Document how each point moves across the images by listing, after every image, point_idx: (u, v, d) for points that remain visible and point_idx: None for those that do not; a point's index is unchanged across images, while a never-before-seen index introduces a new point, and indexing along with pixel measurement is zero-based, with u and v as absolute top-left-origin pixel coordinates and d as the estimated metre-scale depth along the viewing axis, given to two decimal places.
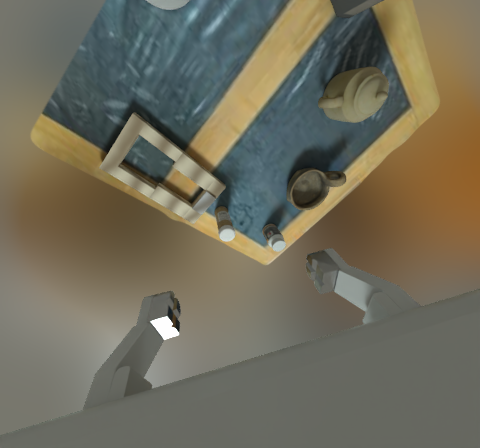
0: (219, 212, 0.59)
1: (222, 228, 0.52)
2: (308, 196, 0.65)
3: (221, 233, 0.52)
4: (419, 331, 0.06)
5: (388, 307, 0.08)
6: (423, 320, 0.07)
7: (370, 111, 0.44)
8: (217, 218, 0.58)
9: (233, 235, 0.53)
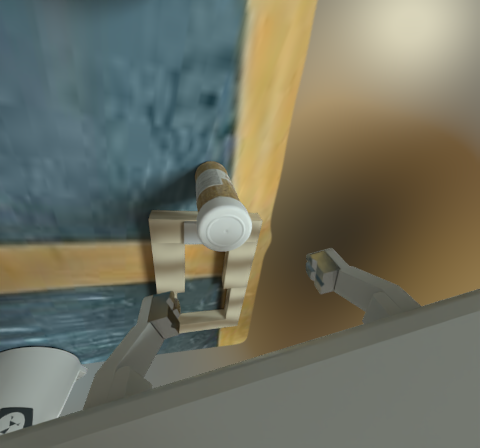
0: None
1: None
2: None
3: (229, 248, 0.16)
4: (419, 331, 0.06)
5: (388, 307, 0.08)
6: (423, 320, 0.07)
7: None
8: None
9: (215, 216, 0.14)
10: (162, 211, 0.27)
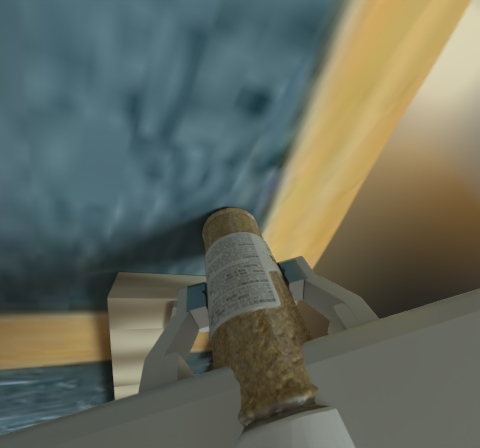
0: None
1: None
2: None
3: None
4: (419, 331, 0.06)
5: (346, 320, 0.08)
6: (423, 320, 0.07)
7: None
8: None
9: None
10: (138, 274, 0.16)
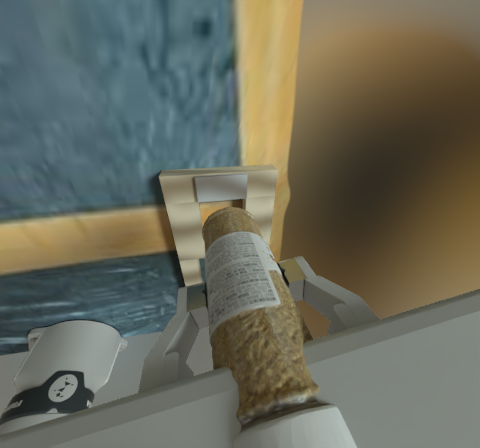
0: None
1: None
2: None
3: None
4: (419, 331, 0.06)
5: (346, 320, 0.08)
6: (423, 320, 0.07)
7: None
8: None
9: None
10: (172, 170, 0.27)
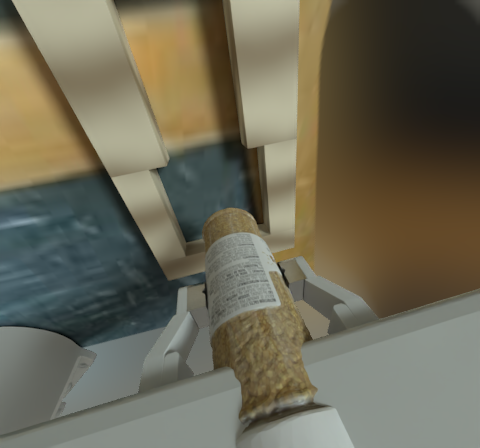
0: None
1: None
2: None
3: None
4: (419, 331, 0.06)
5: (346, 320, 0.08)
6: (423, 320, 0.07)
7: None
8: None
9: None
10: None
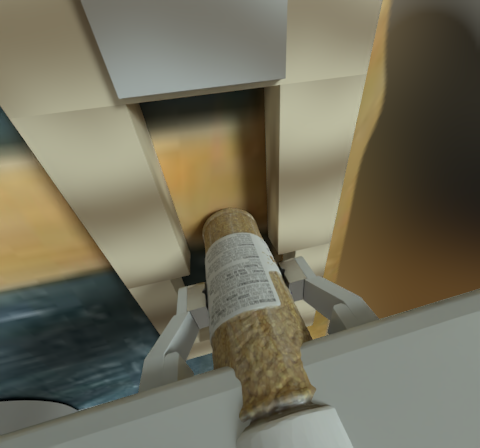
0: None
1: None
2: None
3: None
4: (419, 331, 0.06)
5: (346, 320, 0.08)
6: (423, 320, 0.07)
7: None
8: None
9: None
10: None
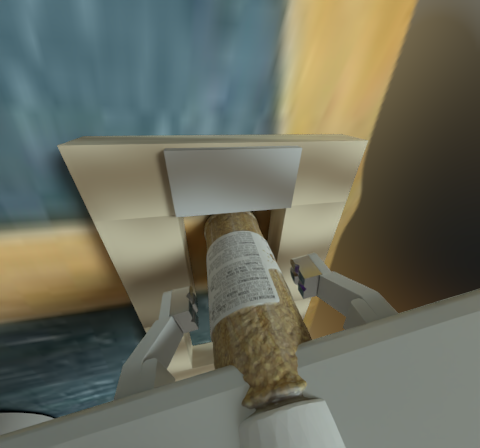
0: None
1: None
2: None
3: None
4: (419, 331, 0.06)
5: (365, 314, 0.08)
6: (423, 320, 0.07)
7: None
8: None
9: None
10: (112, 136, 0.11)
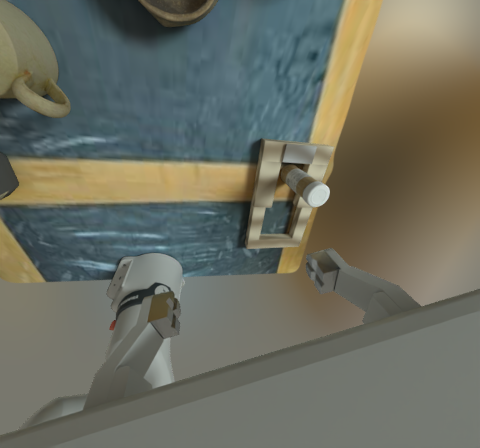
0: (288, 185, 0.43)
1: None
2: None
3: (315, 205, 0.36)
4: (419, 331, 0.06)
5: (388, 307, 0.08)
6: (423, 320, 0.07)
7: None
8: None
9: (319, 188, 0.34)
10: (268, 139, 0.40)
